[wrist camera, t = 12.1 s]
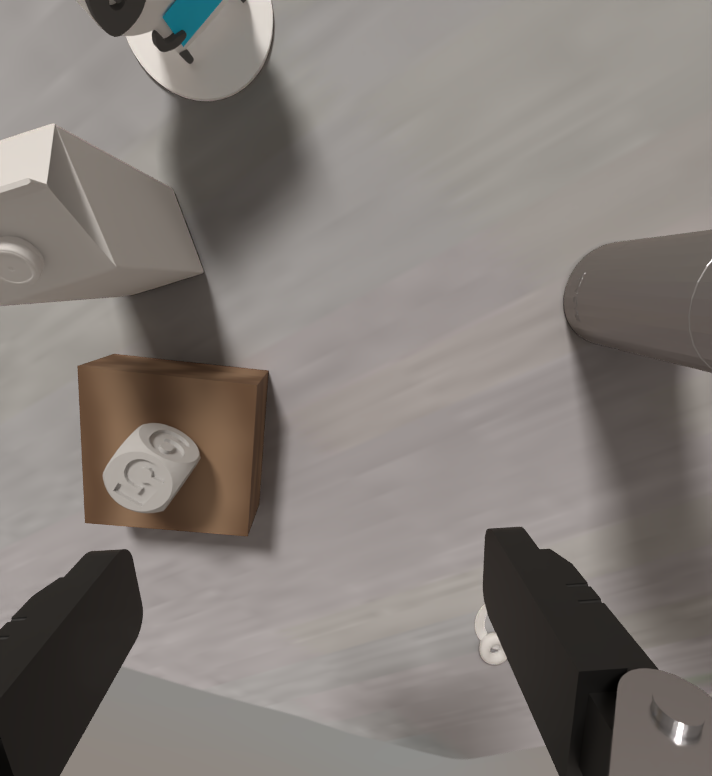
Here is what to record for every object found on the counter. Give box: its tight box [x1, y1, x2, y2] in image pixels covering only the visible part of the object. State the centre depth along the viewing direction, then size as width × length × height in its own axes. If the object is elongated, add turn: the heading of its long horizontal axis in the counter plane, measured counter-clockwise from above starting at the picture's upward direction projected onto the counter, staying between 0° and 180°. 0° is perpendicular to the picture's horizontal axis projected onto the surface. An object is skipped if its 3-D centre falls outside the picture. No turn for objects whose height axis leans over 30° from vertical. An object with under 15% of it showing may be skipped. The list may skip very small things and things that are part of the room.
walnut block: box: [78, 354, 268, 536], centre depth 38 cm, size 14×14×6 cm
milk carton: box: [0, 124, 204, 306], centre depth 26 cm, size 7×7×19 cm
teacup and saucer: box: [475, 604, 507, 665], centre depth 46 cm, size 9×8×4 cm
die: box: [103, 423, 201, 513], centre depth 32 cm, size 5×5×5 cm
